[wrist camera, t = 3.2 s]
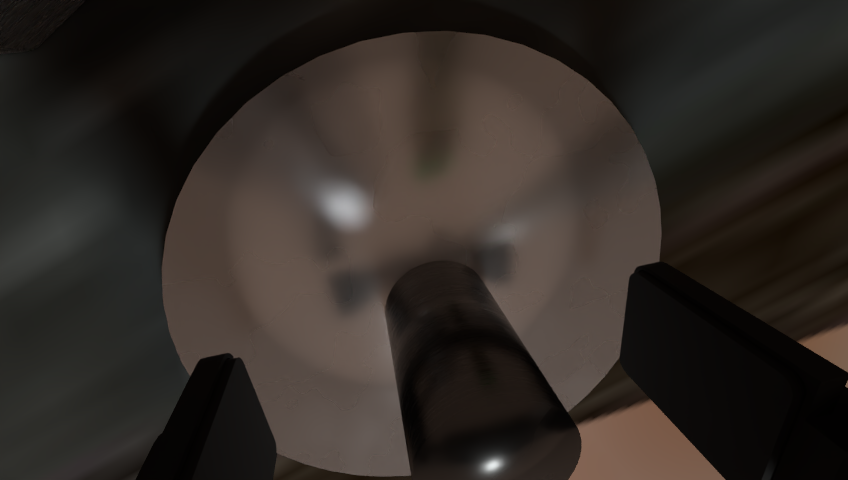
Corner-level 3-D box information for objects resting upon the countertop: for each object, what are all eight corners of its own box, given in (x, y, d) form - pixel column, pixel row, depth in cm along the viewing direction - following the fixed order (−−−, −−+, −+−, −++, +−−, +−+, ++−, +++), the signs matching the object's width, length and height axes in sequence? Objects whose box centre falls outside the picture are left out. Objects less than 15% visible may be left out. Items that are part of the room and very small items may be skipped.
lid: (668, 2, 10) (1052, -74, 5) (617, 401, 16) (758, 574, 10) (73, 75, 8) (-433, 93, 3) (264, 489, 14) (214, 749, 9)
